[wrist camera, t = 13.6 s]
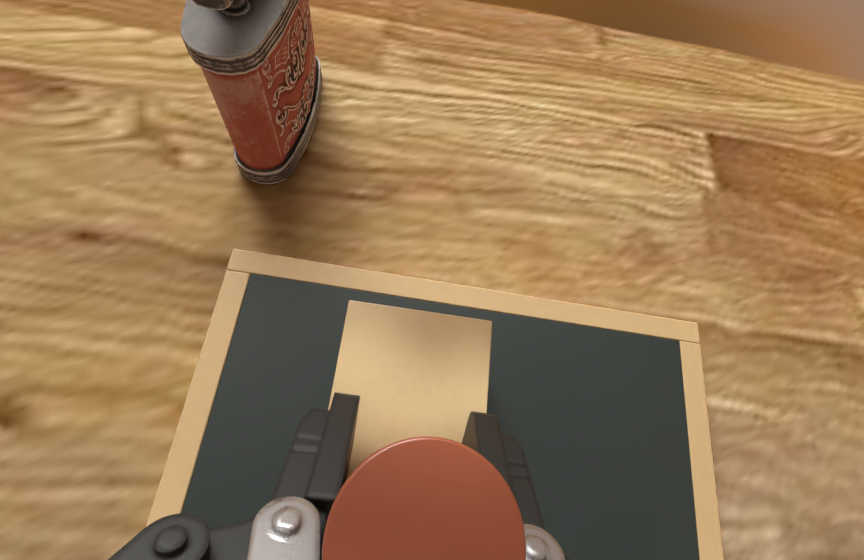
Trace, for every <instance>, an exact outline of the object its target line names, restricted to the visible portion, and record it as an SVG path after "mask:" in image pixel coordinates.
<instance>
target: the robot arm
mask: <svg viewBox="0 0 864 560" xmlns="http://www.w3.org/2000/svg"><path fill="white" fill-rule="evenodd" d="M359 401H360V396H359V395H352V394H344V393H337V392H335V393H334V396H333V400H332V403H331V407H330V410H323V409H316V408H312V409H311V410H310V411H309V412H308V413H307V414H306V415H305V416H304V417H303V418H302V419H301V420H300V422H299V425H298V428H297V430H296V433H295V437H294V438H293V441H292V444H291V447H290V450H289V452H288V455H287V457H286V460H285V463H284V465H283V468H282V471H281V474H280V476H279V479H278V482H277V484H276V487H275V490H274V493H273V495H272V497H271V500H270V501H269V503H268V504H266V505H265V506H264V507H263V508H262V509H261V510H260V511H259V512H258V514H256V515H255V516H253V517H252V518H250V519H248V520H246V521H243V522H240V523H236V524H232V525H227V526H221V527H216V528H210V529H209V527H208V525H207V523H206V522H205V521H204V520H203V519H202V518H200V517H198V516H196V515H193V514H187V513H179V514H173V515H169V516H165V517H163V518H160V519H158V520H156V521H155V522H153V523H151V524H150V525H148V526H147V527H146V528H145V529H143V530H142V531H141V532H140V533H139V534H137V535H136V536H135V537H134V538H133V539H132V540H130V541H129V542H128V543H127V544H126V545H125V546H123V547H122V548H121V549H120V550H119V551H118V552H116V553H115V554H114V555H113V556H112V557H110V558H109V559H108V560H322V545H323V537H324V531H325V527H326V523H327V519H328V516H329V513H330V510H331V507H332V505H333V503H334V501H335V499H336V497H337V495H338V493H339V491H340V489H341V488H342V486H343V485H344V483H345V481H346V479H347V474H348V469H349V464H350V459H351V453H352V448H353V442H354V435H355V428H356V422H357V415H358V408H359ZM462 444H464V445H466V446H468V447H470V448H472V449H473V450H475V451H476V452H478V453H479V454H481V455H482V456H483V457H485V458H486V459H487V460H488V461H489V462H490V463H491V464H492V465H493V466H494V467H495V468H496V469H497V470H498V472H499V473H500V474H501V475H502V477H503V478H504V480H505V481H506V482H507V484H508V485H509V487H510V489H511V491H512V493H513V495H514V497H515V499H516V502H517V505H518V507H519V510H520V513H521V517H522V521H523V525H524V532H525V539H526V560H571V559H570V558H568V557H567V556H565V555H564V554H563V551H562V549H561V547H560V545H559V544H558V542H557V541H556V540H555V539H554V537H553V536H552V535H550V534H549V533H548V532H547V531H546V530H545V527H544V523H543V520H542V516H541V512H540V509H539V505H538V501H537V497H536V494H535V490H534V486H533V483H532V481H531V475H530V472H529V468H527V465H528V464H527V461H526V457H525V453H524V450H523V448H522V447H521V446H520V444H519V443H518V442H517V440H516V439H515V437H514V436H513V435H507V434H501V430H500V425H499V421H498V417H497V415H495V414H488V413H481V412H473V411H471V412H470V414H469V418H468V421H467V425H466V429H465V432H464V436H463V440H462Z"/></svg>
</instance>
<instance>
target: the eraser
mask: <svg viewBox="0 0 864 560" xmlns="http://www.w3.org/2000/svg"><path fill="white" fill-rule="evenodd" d="M491 336H492V321H488V320H481V319H475V318H468V317H461V316H454V315H448V314H441V313H434V312H427V311H421V310H414V309H407V308H400V307H394V306H387V305H380V304H373V303H367V302H360V301H353V300H349V302H348V307H347V313H346V318H345V323H344V329H343V334H342V339H341V344H340V350H339V355H338V360H337V365H336V371H335V376H334V381H333V386H332V392H331V397H330V402H329V408H328V410H330V407H331V403H332V400H333V396H334V393H335V392H337V393H344V394H352V395H359V396H360V401H359V408H358V415H357V422H356V428H355V435H354V442H353V448H352V453H351V459H350V464H349V469H348V474H347V479H346V481H345V483H344V485H343V486H342V488H341V489H340V491H339V493H338V495H337V497H336V499H335V501H334V503H333V505H332V507H331V510H330V513H329V516H328V519H327V523H326V527H325V531H324V537H323V545H322V560H526V539H525V532H524V525H523V521H522V517H521V513H520V510H519V507H518V505H517V502H516V499H515V497H514V495H513V493H512V491H511V489H510V487H509V485H508V484H507V482H506V481H505V480H504V478H503V477H502V475H501V474H500V473H499V472H498V470H497V469H496V468H495V467H494V466H493V465H492V464H491V463H490V462H489V461H488V460H487V459H486V458H485V457H483V456H482V455H481V454H479V453H478V452H476V451H475V450H473V449H472V448H470V447H468V446H466V445H464V444H462V440H463V436H464V432H465V429H466V425H467V421H468V418H469V414H470V412H471V411H473V412H481V413H487V401H488V385H489V368H490V352H491Z"/></svg>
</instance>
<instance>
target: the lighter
mask: <svg viewBox="0 0 864 560" xmlns="http://www.w3.org/2000/svg"><path fill="white" fill-rule="evenodd" d="M181 36H182V39H183V41H184V43H185V46H186V48H187V50H188V52H189V55H190V56H191V58H192V59H193V60H194V62H195V63H196V64H197V65H199V66H200V67H201V68H202V71H203V73H204V75H205V78H206V80H207V82H208V85H209V87H210V90H211V92H212V94H213V97H214V99H215V101H216V104H217V106H218V109H219V111H220V113H221V116H222V118H223V121H224V123H225V125H226V128H227V130H228V132H229V135H230V137H231V140H232V142H233V144H234V157H235V160H236V163H237V165H238V167H239V169H240V171H241V172H242V174H243V175H244V176H245V177H246V178H248V179H249V180H251V181H254V182H256V183H259V184H274V183H279V182H281V181H283V180H285V179H287V178H288V177H289V176H290V175H291V174H292V172H293V171H294V169H295V167H296V165H297V164H298V162H299V160H300V158H301V157H302V155H303V153H304V151H305V150H306V147H307V145H308V142H309V140H310V137H311V135H312V132H313V130H314V127H315V125H316V120H317V115H318V110H319V106H320V101H321V83H322V76H321V67H320V62H319V59H318V58H317V56H316V55H315V49H314V41H313V33H312V25H311V17H310V9H309V1H308V0H186V4H185V8H184V13H183V18H182V23H181Z"/></svg>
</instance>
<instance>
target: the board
mask: <svg viewBox="0 0 864 560" xmlns="http://www.w3.org/2000/svg"><path fill="white" fill-rule="evenodd" d="M349 300H353V301H360V302H367V303H373V304H380V305H387V306H394V307H400V308H407V309H414V310H421V311H427V312H434V313H441V314H448V315H454V316H461V317H468V318H475V319H481V320H488V321H492V336H491V352H490V368H489V385H488V401H487V413H488V414H495V415H497V417H498V421H499V425H500V430H501V434H507V435H513V436H514V437H515V439H516V440H517V442H518V443H519V444H520V446H521V447H522V448H523V450H524V453H525V457H526V461H527V464H528V465H527V468H529V472H530V475H531V481H532V483H533V486H534V490H535V494H536V497H537V501H538V505H539V509H540V512H541V516H542V520H543V523H544V527H545V530H546V531H547V532H548V533H549V534H550V535H552V536H553V537H554V539H555V540H556V541H557V542H558V544H559V545H560V547H561V549H562V551H563V554H564V555H565V556H567V557H568V558H570V559H571V560H724V557H723V548H722V539H721V530H720V520H719V511H718V502H717V493H716V484H715V475H714V466H713V457H712V448H711V438H710V429H709V420H708V411H707V402H706V393H705V384H704V375H703V366H702V356H701V347H700V344H699V343H700V340H699V331H698V324H697V323H694V322H688V321H682V320H676V319H669V318H663V317H657V316H651V315H645V314H638V313H632V312H626V311H620V310H614V309H607V308H601V307H595V306H589V305H582V304H576V303H570V302H564V301H558V300H551V299H545V298H539V297H533V296H527V295H520V294H514V293H508V292H502V291H495V290H489V289H483V288H477V287H471V286H464V285H458V284H452V283H446V282H440V281H433V280H427V279H421V278H415V277H408V276H402V275H396V274H390V273H384V272H377V271H371V270H365V269H359V268H353V267H346V266H340V265H334V264H328V263H321V262H315V261H309V260H303V259H297V258H290V257H284V256H278V255H272V254H265V253H259V252H253V251H247V250H241V249H233V250H232V254H231V257H230V260H229V263H228V266H227V271H226V273H225V276H224V279H223V283H222V286H221V289H220V292H219V295H218V299H217V302H216V305H215V308H214V311H213V315H212V318H211V321H210V324H209V327H208V331H207V334H206V337H205V340H204V343H203V347H202V350H201V353H200V356H199V359H198V363H197V366H196V369H195V372H194V375H193V379H192V382H191V385H190V388H189V391H188V395H187V398H186V401H185V404H184V407H183V410H182V414H181V417H180V420H179V423H178V426H177V430H176V433H175V436H174V439H173V442H172V446H171V449H170V452H169V455H168V458H167V462H166V465H165V468H164V471H163V474H162V478H161V481H160V484H159V487H158V490H157V494H156V497H155V500H154V503H153V506H152V510H151V513H150V516H149V519H148V522H147V525H146V527H147V526H148V525H150V524H151V523H153V522H155V521H156V520H158V519H160V518H163V517H165V516H169V515H173V514H179V513H187V514H193V515H196V516H198V517H200V518H202V519H203V520H204V521H205V522H206V523H207V525H208V527H209V529H210V528H216V527H221V526H227V525H232V524H236V523H240V522H243V521H246V520H248V519H250V518H252V517H253V516H255V515H256V514H258V512H259V511H260V510H261V509H262V508H263V507H264V506H265V505H266V504H268V503H269V501H270V500H271V497H272V495H273V493H274V490H275V487H276V484H277V482H278V479H279V476H280V474H281V471H282V468H283V465H284V463H285V460H286V457H287V455H288V452H289V450H290V447H291V444H292V441H293V438H294V437H295V433H296V430H297V428H298V425H299V422H300V420H301V419H302V418H303V417H304V416H305V415H306V414H307V413H308V412H309V411H310V410H311V409H312V408H316V409H323V410H328V408H329V402H330V397H331V392H332V386H333V381H334V376H335V371H336V365H337V360H338V355H339V350H340V344H341V339H342V334H343V329H344V323H345V318H346V313H347V307H348V302H349Z"/></svg>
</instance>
